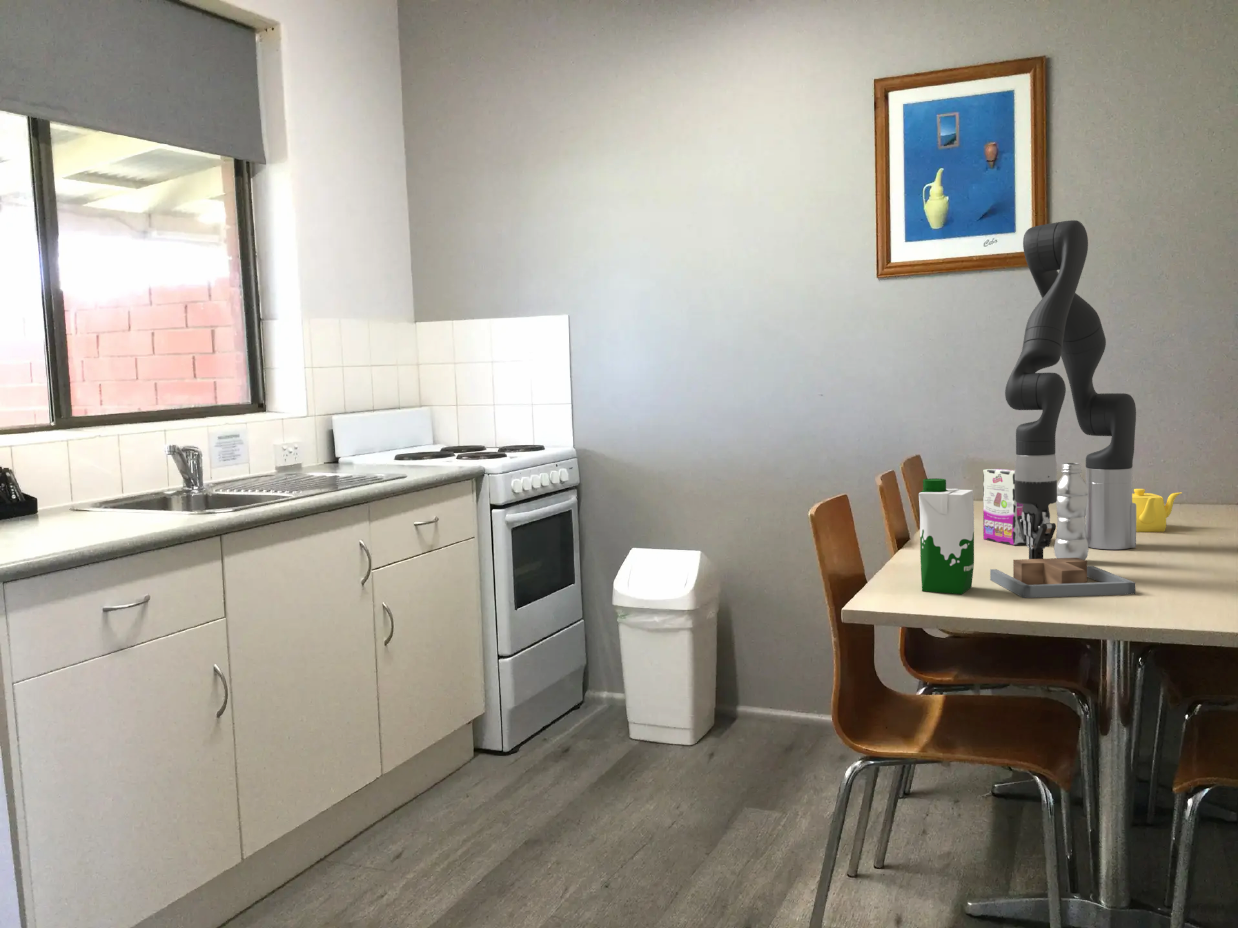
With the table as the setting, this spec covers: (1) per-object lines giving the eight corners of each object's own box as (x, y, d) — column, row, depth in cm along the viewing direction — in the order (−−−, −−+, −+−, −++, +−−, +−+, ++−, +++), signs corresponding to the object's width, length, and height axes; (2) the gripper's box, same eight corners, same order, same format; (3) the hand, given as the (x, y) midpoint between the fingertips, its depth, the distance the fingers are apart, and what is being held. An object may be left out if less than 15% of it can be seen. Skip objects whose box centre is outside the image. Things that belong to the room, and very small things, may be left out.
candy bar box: (1032, 544, 237) (1032, 471, 236) (1014, 546, 236) (1014, 472, 234) (1000, 537, 248) (1000, 467, 246) (982, 539, 246) (981, 468, 245)
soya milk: (929, 582, 199) (928, 476, 197) (978, 586, 194) (978, 478, 192) (915, 591, 192) (914, 481, 190) (966, 595, 187) (966, 483, 185)
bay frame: (1093, 576, 200) (1093, 565, 200) (1135, 594, 184) (1135, 582, 184) (990, 579, 200) (990, 569, 200) (1023, 597, 184) (1023, 586, 183)
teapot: (1153, 535, 244) (1154, 493, 243) (1095, 529, 255) (1095, 489, 254) (1184, 528, 252) (1184, 488, 252) (1126, 523, 264) (1126, 484, 263)
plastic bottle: (1087, 559, 217) (1087, 462, 215) (1090, 565, 211) (1090, 465, 209) (1053, 558, 219) (1053, 462, 217) (1054, 564, 213) (1055, 465, 211)
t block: (1077, 578, 198) (1077, 557, 198) (1107, 591, 187) (1107, 569, 186) (1013, 580, 198) (1013, 559, 198) (1038, 593, 187) (1038, 571, 186)
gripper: (1070, 480, 196) (1070, 573, 197) (1040, 473, 209) (1041, 560, 210) (1030, 482, 196) (1030, 575, 197) (1002, 475, 209) (1003, 562, 210)
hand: (1036, 567), depth 204 cm, fingers closed
